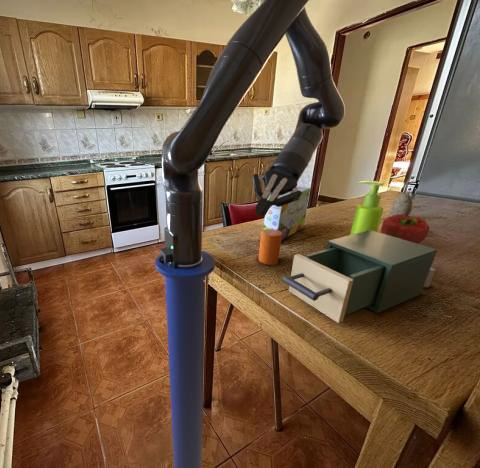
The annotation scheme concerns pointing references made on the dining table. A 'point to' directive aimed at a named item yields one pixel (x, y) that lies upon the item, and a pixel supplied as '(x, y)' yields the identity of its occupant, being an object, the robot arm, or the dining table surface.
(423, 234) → the vegetable
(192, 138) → the robot arm
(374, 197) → the soap dispenser
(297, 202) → the snack box
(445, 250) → the dining table surface
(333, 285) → the drawer
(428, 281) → the lighter
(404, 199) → the decorative egg
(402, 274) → the cabinet
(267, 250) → the spice tin
